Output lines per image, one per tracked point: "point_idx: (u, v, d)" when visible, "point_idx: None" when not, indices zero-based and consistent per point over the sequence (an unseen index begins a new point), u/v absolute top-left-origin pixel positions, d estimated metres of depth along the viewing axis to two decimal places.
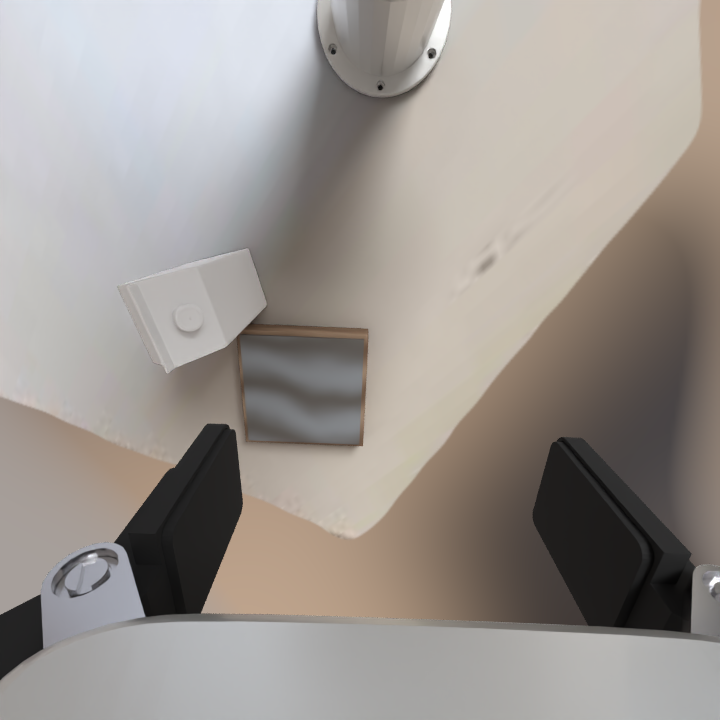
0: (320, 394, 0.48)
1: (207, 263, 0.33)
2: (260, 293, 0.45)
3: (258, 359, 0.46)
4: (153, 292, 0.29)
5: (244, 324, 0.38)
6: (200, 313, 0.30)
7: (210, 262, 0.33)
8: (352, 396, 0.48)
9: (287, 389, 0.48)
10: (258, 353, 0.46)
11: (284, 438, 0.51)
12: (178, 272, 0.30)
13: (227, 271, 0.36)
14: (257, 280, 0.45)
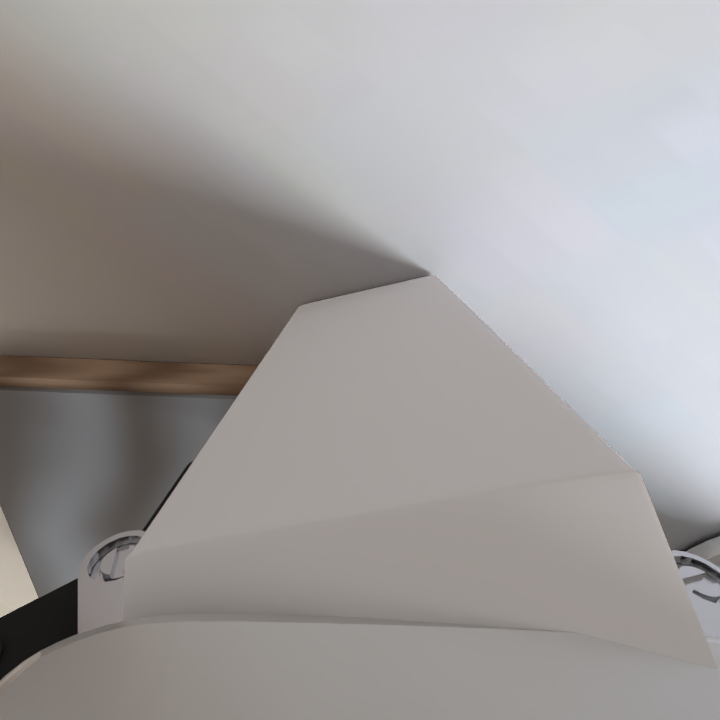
0: None
1: None
2: None
3: (205, 434, 0.19)
4: None
5: None
6: None
7: None
8: None
9: (139, 486, 0.20)
10: None
11: None
12: None
13: None
14: None
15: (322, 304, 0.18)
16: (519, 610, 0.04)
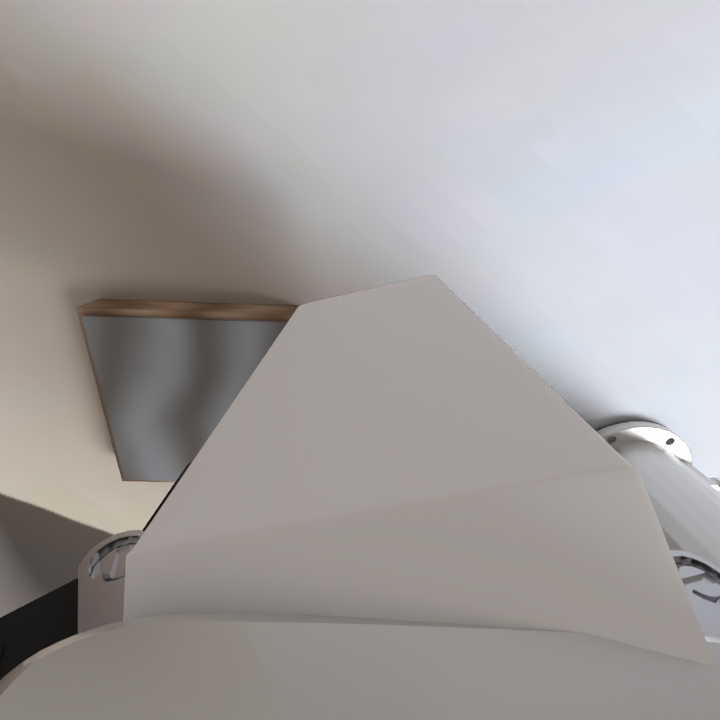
0: (200, 431, 0.31)
1: None
2: None
3: (247, 347, 0.28)
4: None
5: None
6: None
7: None
8: None
9: (200, 386, 0.30)
10: (258, 348, 0.29)
11: (103, 376, 0.29)
12: None
13: None
14: None
15: (322, 304, 0.18)
16: (518, 606, 0.04)
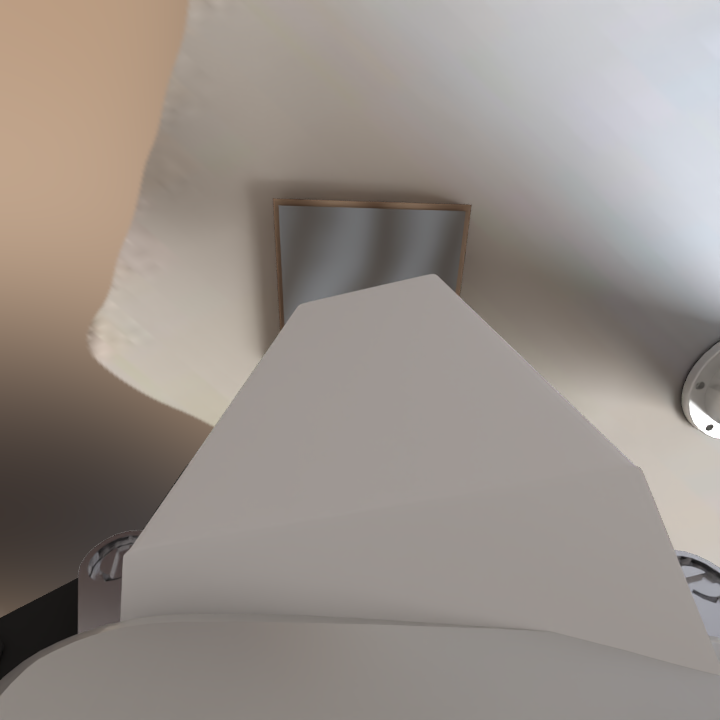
0: None
1: None
2: None
3: (424, 236, 0.31)
4: None
5: None
6: None
7: None
8: None
9: (374, 278, 0.32)
10: (434, 238, 0.31)
11: (287, 267, 0.32)
12: None
13: None
14: None
15: (322, 303, 0.18)
16: (520, 607, 0.04)
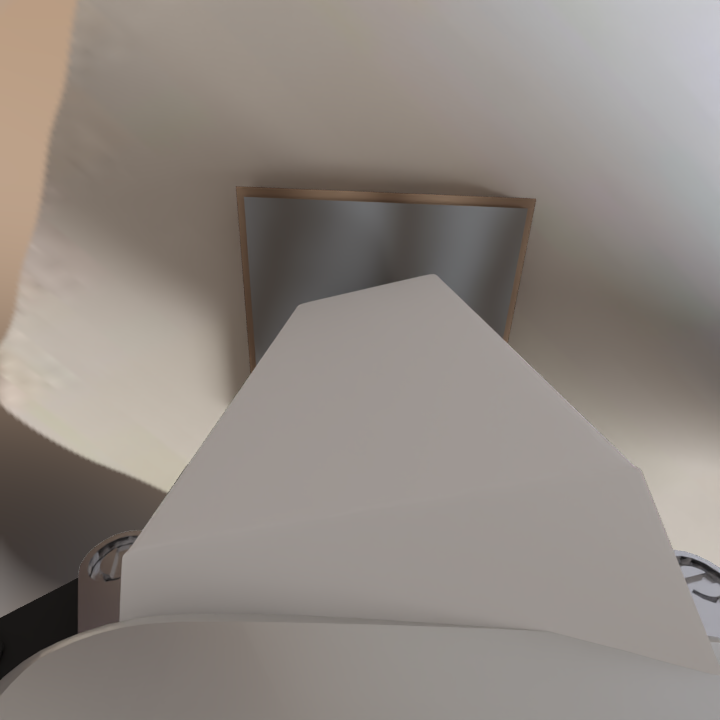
0: None
1: None
2: None
3: (463, 245, 0.21)
4: None
5: None
6: None
7: None
8: None
9: None
10: (477, 248, 0.21)
11: (259, 289, 0.22)
12: None
13: None
14: None
15: (322, 303, 0.18)
16: (519, 608, 0.04)
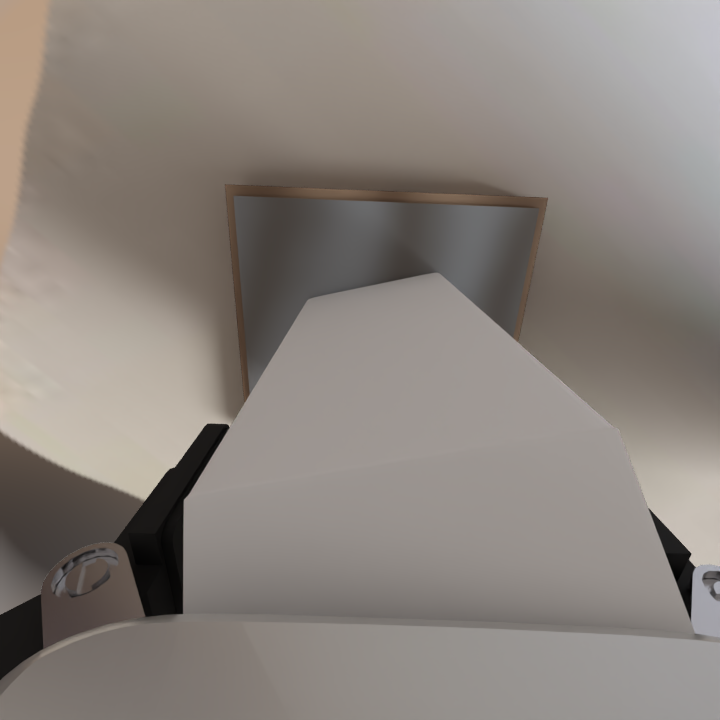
0: None
1: None
2: None
3: (469, 248, 0.19)
4: None
5: None
6: None
7: None
8: None
9: None
10: (485, 251, 0.19)
11: (250, 294, 0.20)
12: None
13: None
14: None
15: (331, 297, 0.19)
16: (518, 537, 0.05)
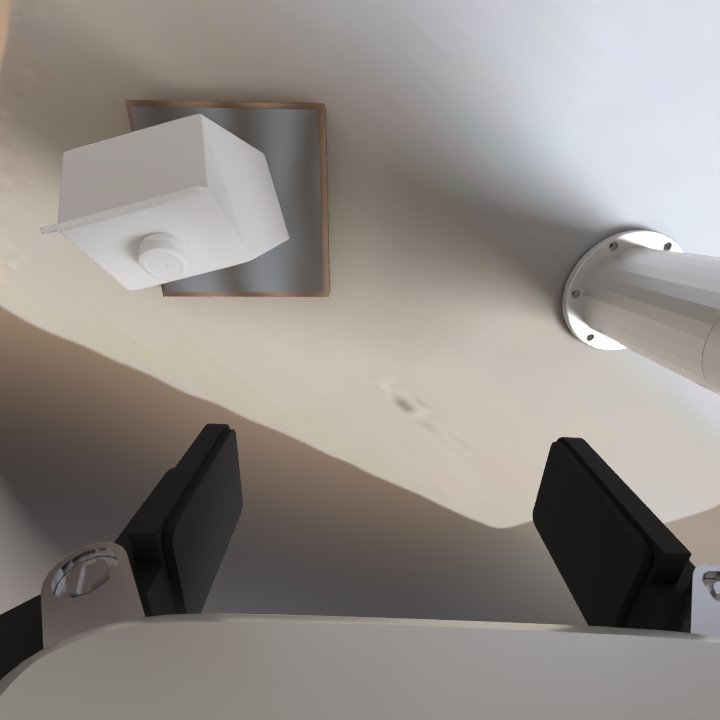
0: None
1: (259, 255, 0.23)
2: None
3: (281, 137, 0.31)
4: (196, 211, 0.17)
5: None
6: (176, 277, 0.19)
7: (261, 254, 0.23)
8: (241, 279, 0.36)
9: None
10: (291, 139, 0.31)
11: None
12: (238, 242, 0.19)
13: None
14: None
15: None
16: (164, 143, 0.18)
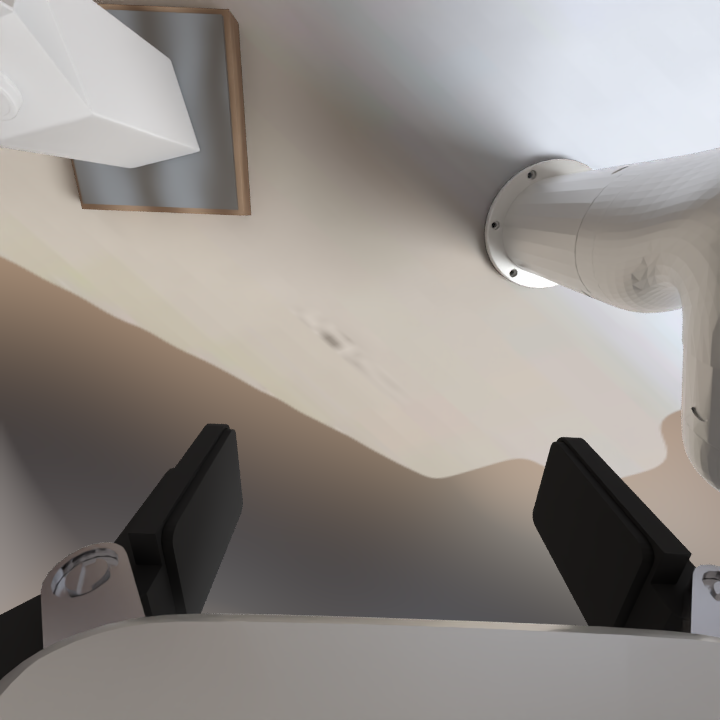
0: None
1: (117, 123, 0.23)
2: (140, 163, 0.34)
3: (186, 43, 0.32)
4: (11, 39, 0.18)
5: (58, 155, 0.27)
6: (7, 117, 0.20)
7: (124, 125, 0.24)
8: (156, 193, 0.36)
9: None
10: (196, 45, 0.32)
11: None
12: (70, 86, 0.20)
13: (132, 138, 0.27)
14: (158, 159, 0.34)
15: None
16: None
